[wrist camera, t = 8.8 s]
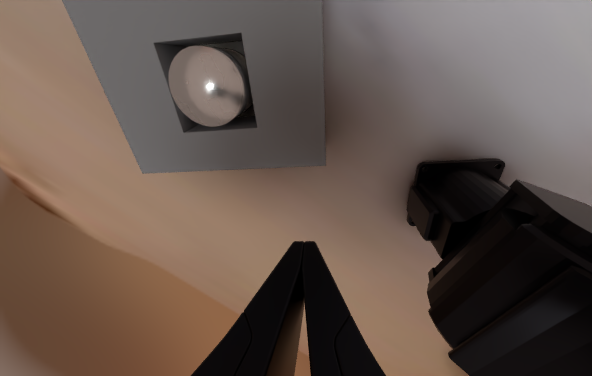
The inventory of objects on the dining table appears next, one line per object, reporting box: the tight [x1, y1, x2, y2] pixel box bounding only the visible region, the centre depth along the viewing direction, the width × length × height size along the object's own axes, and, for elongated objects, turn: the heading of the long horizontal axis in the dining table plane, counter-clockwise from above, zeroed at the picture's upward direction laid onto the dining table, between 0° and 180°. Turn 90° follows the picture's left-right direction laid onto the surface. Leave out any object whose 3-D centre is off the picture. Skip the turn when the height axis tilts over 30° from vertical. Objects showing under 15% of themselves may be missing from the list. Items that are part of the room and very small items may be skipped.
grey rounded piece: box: [168, 46, 253, 127], centre depth 15 cm, size 4×4×4 cm
